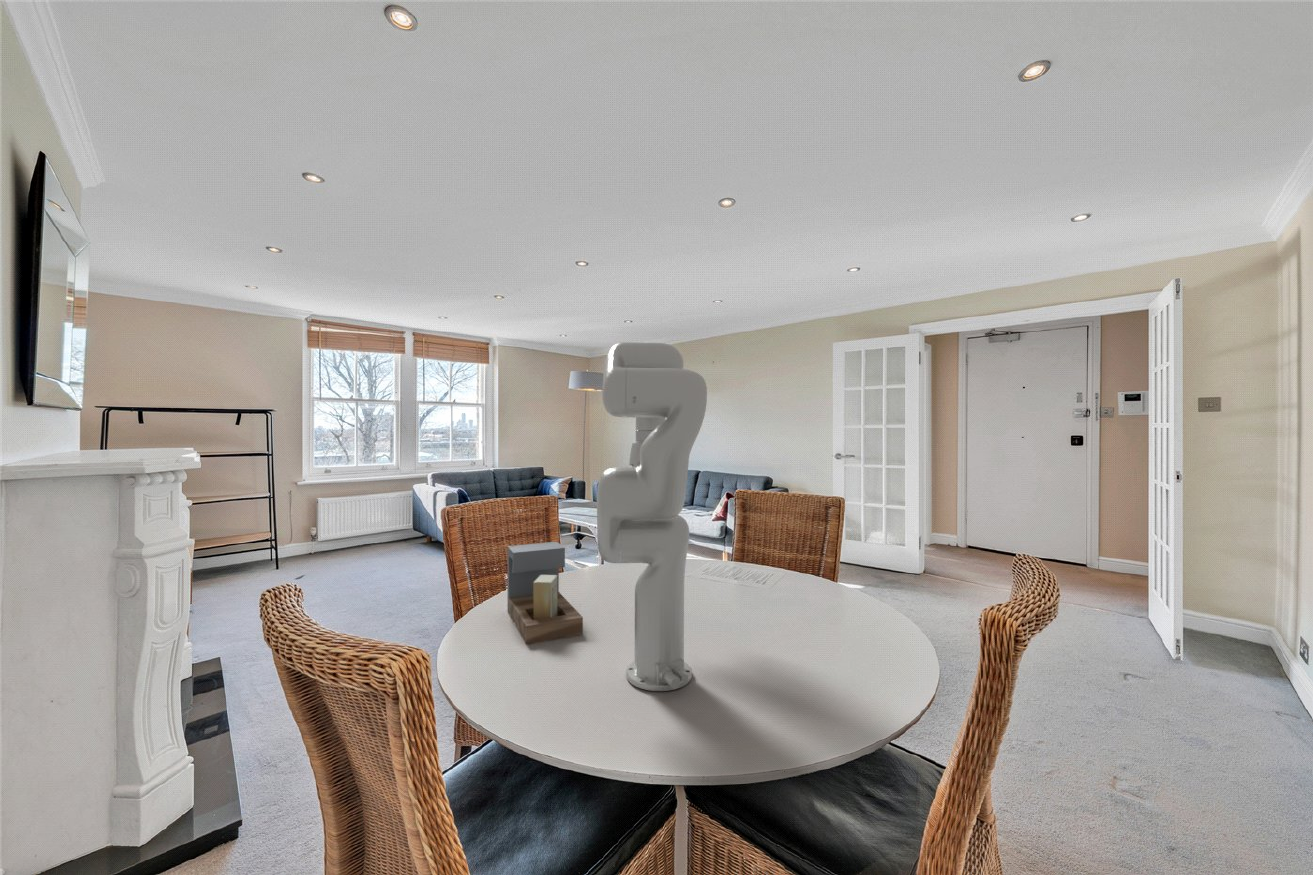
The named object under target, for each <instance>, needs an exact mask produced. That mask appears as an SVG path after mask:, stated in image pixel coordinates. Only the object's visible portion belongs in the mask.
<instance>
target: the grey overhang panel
mask: <svg viewBox="0 0 1313 875" xmlns="http://www.w3.org/2000/svg"><path fill="white" fill-rule="evenodd" d="M506 548H507V552H506V553H507V555H506V557H507V558H506V559H507V560H506V563H507V568H506V570H507V583H506V584H507V587H506V588H507V613H508V614H509V598H514V597H522V596H529V595H533V582H534V581H535V580H536V579H537V578H538V577H539V576H540V575H557V592H559V593H560V591H559V590H560V589H559V588H560V587H559V584H560V578H559V573H560V570H559V569H561V568H566V548H565V546H564V545H562V544H561V543H559V542H558V541H551V542H550V541H549V542H539V543H538V542H537V543H528V544H527V543H526V544H517V545H507V546H506Z"/></svg>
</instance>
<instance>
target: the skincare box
mask: <svg viewBox="0 0 1313 875" xmlns="http://www.w3.org/2000/svg"><path fill="white" fill-rule="evenodd" d="M533 601H534V620H537V619H544V618H550V617H557V575H540V576H539V577H538V578H537V579H536V580H535V581H534V582H533Z"/></svg>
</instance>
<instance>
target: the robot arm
mask: <svg viewBox="0 0 1313 875" xmlns="http://www.w3.org/2000/svg"><path fill="white" fill-rule="evenodd" d="M603 368H604V371H603V382H602V391H601V392H602V402H603V407H604V409H605V411H606V412H607V413H608V414H609V415H611V416H612V417H616V418H635V442H632V443H631V449H630V454H629V462H628V463H629V464H628V466H614V467H610V468H607V469H605V470H604V471H603V472H602V474H600V477H599V480H598V483H597V490H596V530H597V532H596V533H597V534H596V538H597V539H596V540H597V550H598V554H599V556H600V558H601V559H602V560H603V561H605V562H607V563H610V564H648V565H646V567H645V568H644V569H643V571H642V572H641V573H640V574H639V576H638V578H637V579H636V582H635V584H634V585H635V586H634V661H632V663H630V664H629V665H628V666H627V667H626V673H625V675H626V676H625V677H626V680H627V681H628V682H629V683H630V684H631V685H633V686H634V687H636V688H638V689H642V690H646V691H650V692H669V691H674V690H675V691H676V690H677V689H680V688H684V686H686V685H687V684H689V682H691V680H692V678H693V671H692V670H693V669H692V668H691V666H690V665H689V664H688V663H686V662H685V579H686V578H685V574H686V573H685V572H686V563H687V555H688V550H689V544H690V543H689V542H690V526H689V525H688V522H687V520H686V519H684V517H682V516H681V515H680V514H681V512H682V511H683V508H684V505H685V501H686V494H687V483H688V472H689V464H690V463H689V462H690V454H691V452H692V448H693V446H694V444H695V443H696V440H697V437H698V435H699V434H700V431H701V429H702V425H703V422H704V419H705V416H706V411H707V405H708V404H707V403H708V402H707V401H708V387H707V382H706V381H705V379H704V377H703V376H702V375H701V374H700V373H698V372H697V371H694V370H690V369H685V368H684V359H683V356H682V354H681V353H680V351H679V350H678V348H676V347H675V346H673V345H671V344H669V343H664V342H623V341H622V342H618V343H616V344H614V345H613V346H612V347H611V348H610V349H609V350H608V352H607V355H606V358H605V363H604V367H603Z"/></svg>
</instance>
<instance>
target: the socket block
mask: <svg viewBox="0 0 1313 875" xmlns="http://www.w3.org/2000/svg"><path fill="white" fill-rule="evenodd" d="M508 614H509V616H510V618H511V620H512V622H513V624H514V623H515V624H514V626H516V628H517V631H518V632H519V635H520V636H521V638H522V639H523V641H524V643H525V645H530V644H534V643H535V642H536V643H540V641H541V642H546V641H545V640H547V641H552V640H551V639H553V640H557V639H558V638H559V639H563V637H565V638H569V637H575V636H576V637H577V636H581V634H582V635H583V634H584V628H583V627H584V623H583V622H584V617H583V616H582V615H581V614H580V612H578V611H577V609H575V607H574V606H573V605H572V604H571V603H570V602H569V600H567V599H566V597H565V596H564V595H562V593H561V592H560V591H559V592H557V617H550V618H544V619H537V620H534V601H533V595H529V596H522V597H514V598H509V613H508ZM556 638H557V639H556ZM536 643H535V644H536Z"/></svg>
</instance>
